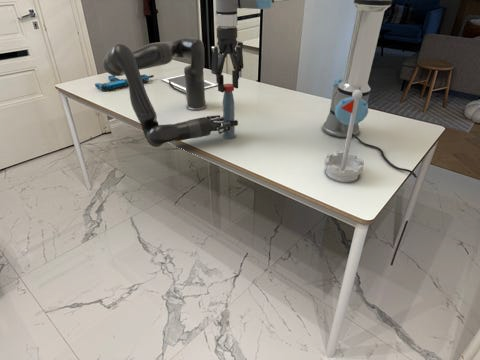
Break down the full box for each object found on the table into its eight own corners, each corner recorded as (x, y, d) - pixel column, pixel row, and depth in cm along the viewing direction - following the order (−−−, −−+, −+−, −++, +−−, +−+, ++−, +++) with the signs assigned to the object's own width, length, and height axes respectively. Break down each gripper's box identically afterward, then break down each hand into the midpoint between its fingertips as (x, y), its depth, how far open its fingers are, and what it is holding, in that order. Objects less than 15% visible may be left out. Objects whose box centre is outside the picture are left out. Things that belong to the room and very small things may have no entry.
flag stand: (346, 161, 127) (361, 81, 110) (369, 179, 117) (390, 94, 100) (316, 168, 123) (327, 86, 106) (337, 186, 113) (353, 99, 96)
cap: (222, 92, 133) (222, 87, 132) (222, 88, 136) (222, 83, 135) (234, 92, 133) (233, 87, 132) (234, 88, 137) (233, 83, 136)
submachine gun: (139, 68, 225) (158, 74, 208) (140, 74, 226) (158, 80, 210) (87, 78, 206) (103, 86, 189) (89, 84, 208) (104, 92, 191)
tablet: (161, 80, 213) (161, 79, 212) (188, 74, 224) (188, 73, 223) (189, 92, 192) (189, 92, 192) (218, 85, 203) (218, 84, 203)
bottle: (232, 139, 143) (232, 89, 132) (222, 137, 144) (220, 88, 133) (236, 134, 147) (235, 86, 135) (225, 133, 148) (224, 84, 136)
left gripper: (203, 126, 129) (242, 117, 136) (189, 113, 140) (227, 106, 146) (204, 143, 133) (242, 134, 140) (191, 130, 144) (227, 122, 150)
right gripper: (240, 22, 130) (240, 82, 142) (198, 28, 119) (202, 92, 131) (253, 24, 125) (252, 86, 137) (211, 31, 114) (214, 97, 127)
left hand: (234, 120), depth 143 cm, fingers closed on bottle, 4 cm apart
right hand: (228, 89), depth 134 cm, fingers open, 7 cm apart
